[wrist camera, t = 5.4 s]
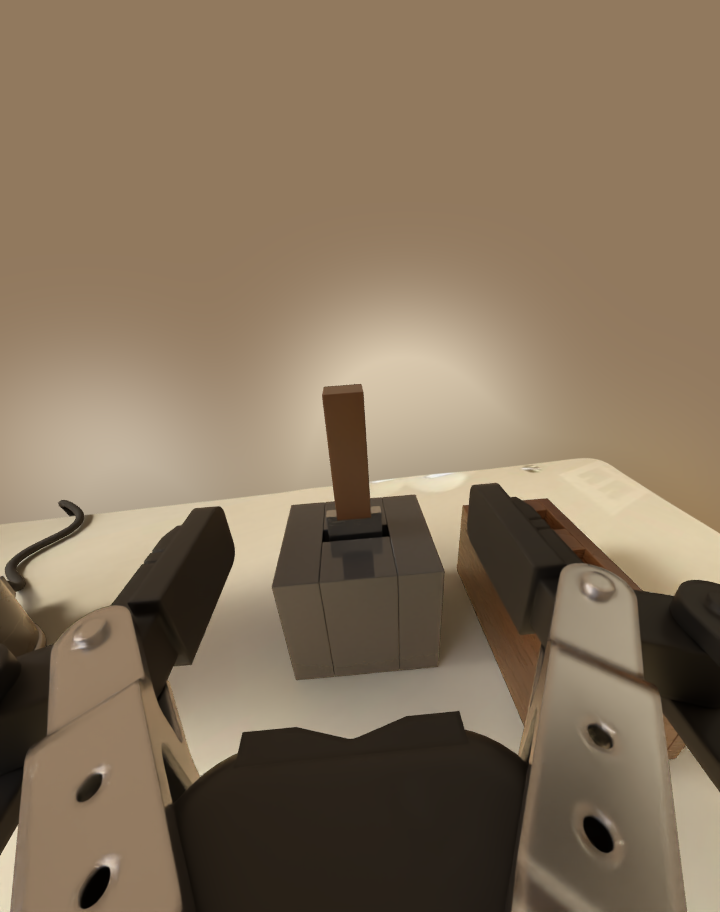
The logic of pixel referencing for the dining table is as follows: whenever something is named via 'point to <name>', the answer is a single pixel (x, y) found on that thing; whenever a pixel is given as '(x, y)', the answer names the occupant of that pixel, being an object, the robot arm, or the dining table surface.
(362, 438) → the chef knife
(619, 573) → the knife rack
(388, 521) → the knife block
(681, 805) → the dining table surface
